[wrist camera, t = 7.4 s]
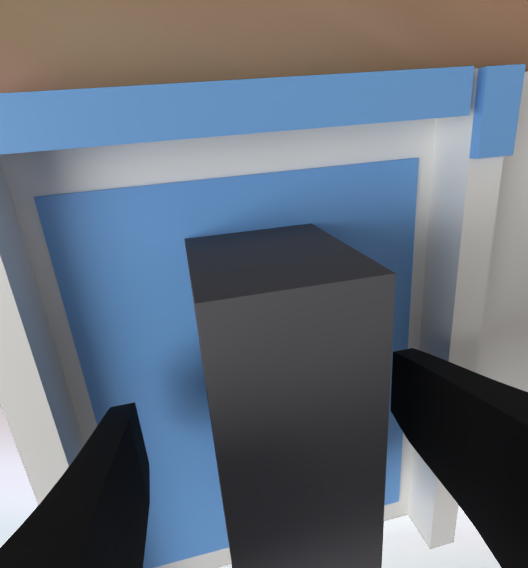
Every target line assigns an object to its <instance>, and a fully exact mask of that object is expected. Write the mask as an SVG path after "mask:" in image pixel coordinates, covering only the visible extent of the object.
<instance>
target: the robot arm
mask: <svg viewBox="0 0 528 568" xmlns="http://www.w3.org/2000/svg"><path fill="white" fill-rule="evenodd" d="M390 411H391V412H392V414H393V416H394V418H395V419H396V421H397V423H398V425H399V426H400V428H401V430H402V431H403V433H404V434H405V436H406V438H407V439H408V441H409V442H410V444H411V445H412V446H413V448H414V449H415V450H416V451H417V453H418V454H419V455H420V457H421V458H422V459H423V460H424V462H425V463H426V464H427V466H428V467H429V468H430V469H431V471H432V472H433V473H434V474H435V476H436V477H437V478H438V479H439V481H440V482H441V483H442V484H443V486H444V487H445V488H446V489H447V491H448V492H449V493H450V495H451V496H452V497H453V498H454V500H455V501H456V502H457V503H458V505H459V506H460V507H461V508H462V510H463V511H464V512H465V514H466V515H467V516H468V518H469V519H470V521H471V522H472V523H473V525H474V526H475V527H476V529H477V530H478V532H479V534H480V535H481V537H482V538H483V540H484V541H485V543H486V544H487V546H488V547H489V549H490V550H491V552H492V553H493V555H494V557H495V558H496V560H497V561H498V563H499V564H500V566H501V567H502V568H528V392H526V391H523V390H520V389H517V388H515V387H512V386H509V385H506V384H504V383H501V382H498V381H496V380H493V379H490V378H488V377H485V376H483V375H480V374H478V373H475V372H473V371H470V370H468V369H466V368H463V367H461V366H458V365H456V364H453V363H451V362H448V361H446V360H444V359H441V358H439V357H436V356H434V355H431V354H428V353H426V352H423V351H420V350H417V349H414V348H410V349H405V350H400V351H395V352H393V362H392V385H391V408H390ZM149 506H150V468H149V460H148V456H147V452H146V447H145V443H144V439H143V434H142V430H141V426H140V421H139V417H138V413H137V408H136V404H135V402H134V403H129V404H124V405H119V406H114V407H110V408H109V410H108V411H107V412H106V414H105V415H104V416H103V418H102V419H101V421H100V422H99V424H98V425H97V427H96V428H95V430H94V431H93V433H92V434H91V436H90V437H89V439H88V440H87V442H86V443H85V445H84V446H83V448H82V449H81V450H80V452H79V453H78V455H77V456H76V457H75V459H74V460H73V461H72V463H71V464H70V466H69V467H68V468H67V470H66V471H65V472H64V474H63V475H62V476H61V478H60V479H59V480H58V482H57V483H56V484H55V485H54V487H53V488H52V489H51V490H50V492H49V493H48V494H47V495H46V497H45V498H44V499H43V500H42V502H41V503H40V504H39V505H38V507H37V508H36V509H35V510H34V511H33V513H32V514H31V515H30V516H29V517H28V518H27V520H26V521H25V522H24V523H23V524H22V525H21V526H20V527H19V529H18V530H17V531H16V532H15V533H14V534H13V535H12V536H11V537H10V538H9V539H8V540H7V541H6V543H5V544H4V545H3V546H2V547H1V548H0V568H143V562H144V553H145V544H146V535H147V525H148V516H149Z"/></svg>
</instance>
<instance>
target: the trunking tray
mask: <svg viewBox="0 0 528 568" xmlns="http://www.w3.org/2000/svg"><path fill="white" fill-rule="evenodd" d="M525 66H526V64H517V65H500V66H486V67H482V68H478V69H474V66H464V67H447V68H429V69H412V70H395V71H378V72H361V73H344V74H326V75H309V76H292V77H275V78H258V79H241V80H224V81H206V82H189V83H172V84H155V85H138V86H121V87H104V88H86V89H69V90H52V91H35V92H18V93H1V94H0V404H1V407H2V410H3V412H4V415H5V418H6V420H7V423H8V426H9V428H10V431H11V434H12V436H13V439H14V442H15V444H16V447H17V450H18V452H19V455H20V457H21V460H22V463H23V465H24V468H25V471H26V473H27V476H28V479H29V481H30V484H31V487H32V489H33V492H34V495H35V497H36V500H37V503H38V505H39V504H40V503H41V502H42V500H43V499H44V498H45V497H46V495H47V494H48V493H49V492H50V490H51V489H52V488H53V487H54V485H55V484H56V483H57V482H58V480H59V479H60V478H61V476H62V475H63V474H64V472H65V471H66V470H67V468H68V467H69V466H70V464H71V463H72V461H73V460H74V459H75V457H76V456H77V455H78V453H79V452H80V450H81V449H82V448H83V446H84V445H85V443H86V442H87V440H88V439H89V437H90V436H91V434H92V433H93V431H94V430H95V428H96V427H97V425H98V424H99V422H100V421H101V419H102V418H103V416H104V415H105V414H106V412H107V411H108V410H109V408H110V407H114V406H119V405H124V404H129V403H134V402H135V404H136V408H137V413H138V417H139V421H140V426H141V430H142V434H143V439H144V443H145V447H146V452H147V456H148V460H149V468H150V506H149V516H148V525H147V535H146V544H145V553H144V562H143V568H217V567H221V566H224V565H228V564H232V563H231V556H230V550H229V543H228V536H227V530H226V523H225V516H224V510H223V503H222V496H221V490H220V483H219V476H218V469H217V462H216V455H215V448H214V441H213V434H212V427H211V420H210V413H209V407H208V400H207V393H206V386H205V379H204V372H203V365H202V358H201V351H200V344H199V337H198V330H197V324H196V317H195V310H194V303H193V296H192V289H191V282H190V275H189V268H188V261H187V254H186V247H185V240H184V239H187V238H195V237H203V236H211V235H220V234H228V233H236V232H245V231H253V230H261V229H269V228H278V227H286V226H294V225H303V224H311V223H312V224H313V225H315V226H317V227H318V228H320V229H322V230H323V231H325V232H327V233H328V234H330V235H332V236H334V237H335V238H337V239H339V240H340V241H342V242H344V243H345V244H347V245H349V246H350V247H352V248H354V249H356V250H357V251H359V252H361V253H362V254H364V255H366V256H367V257H369V258H371V259H372V260H374V261H376V262H377V263H379V264H381V265H383V266H384V267H386V268H388V269H389V270H391V271H393V272H394V273H396V280H395V301H394V321H393V341H392V361H391V382H390V402H389V422H388V442H387V463H386V483H385V503H384V521H387V520H390V519H394V518H397V517H401V516H405V515H408V516H409V517H410V519H411V521H412V522H413V524H414V525H415V527H416V528H417V530H418V532H419V533H420V535H421V536H422V538H423V539H424V541H425V543H426V544H427V546H428V547H429V549H432V548H435V547H439V546H442V545H445V544H449V543H452V542H454V534H455V527H456V519H457V511H458V503H457V502H456V501H455V500H454V498H453V497H452V496H451V495H450V493H449V492H448V491H447V489H446V488H445V487H444V486H443V484H442V483H441V482H440V481H439V479H438V478H437V477H436V476H435V474H434V473H433V472H432V471H431V469H430V468H429V467H428V466H427V464H426V463H425V462H424V460H423V459H422V458H421V457H420V455H419V454H418V453H417V451H416V450H415V449H414V448H413V446H412V445H411V444H410V442H409V441H408V439H407V438H406V436H405V434H404V433H403V431H402V430H401V428H400V426H399V425H398V423H397V421H396V419H395V418H394V416H393V414H392V412H391V411H390V408H391V385H392V362H393V352H395V351H400V350H405V349H410V348H414V349H417V350H420V351H423V352H426V353H428V354H431V355H434V356H436V357H439V358H441V359H444V360H446V361H448V362H451V363H453V364H456V365H458V366H461V367H463V368H466V369H468V370H470V371H473V372H475V373H478V374H480V375H483V376H485V377H488V378H490V379H493V380H496V381H498V382H501V383H504V384H506V385H509V386H512V387H515V388H517V389H520V390H523V391H526V392H528V72H525Z"/></svg>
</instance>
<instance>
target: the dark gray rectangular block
mask: <svg viewBox="0 0 528 568" xmlns="http://www.w3.org/2000/svg"><path fill="white" fill-rule="evenodd" d="M184 240H185V247H186V254H187V261H188V268H189V275H190V282H191V289H192V296H193V303H194V310H195V317H196V324H197V330H198V337H199V344H200V351H201V358H202V365H203V372H204V379H205V386H206V393H207V400H208V407H209V413H210V420H211V427H212V434H213V441H214V448H215V455H216V462H217V469H218V476H219V483H220V490H221V496H222V503H223V510H224V516H225V523H226V530H227V536H228V543H229V550H230V556H231V563H232V568H381V564H382V544H383V523H384V503H385V483H386V463H387V442H388V422H389V402H390V382H391V361H392V341H393V321H394V301H395V280H396V273H394V272H393V271H391V270H389V269H388V268H386V267H384V266H383V265H381V264H379V263H377V262H376V261H374V260H372V259H371V258H369V257H367V256H366V255H364V254H362V253H361V252H359V251H357V250H356V249H354V248H352V247H350V246H349V245H347V244H345V243H344V242H342V241H340V240H339V239H337V238H335V237H334V236H332V235H330V234H328V233H327V232H325V231H323V230H322V229H320V228H318V227H317V226H315V225H313V224H312V223H311V224H303V225H294V226H286V227H278V228H269V229H261V230H253V231H245V232H236V233H228V234H220V235H211V236H203V237H195V238H187V239H184Z"/></svg>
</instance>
